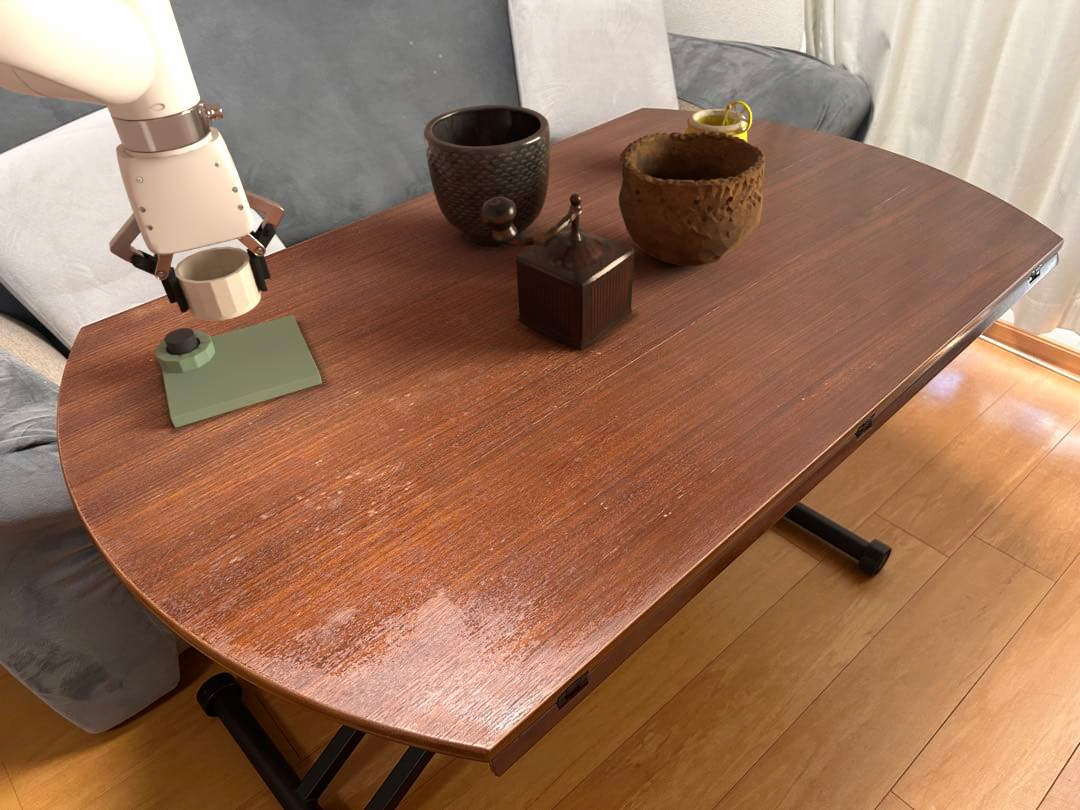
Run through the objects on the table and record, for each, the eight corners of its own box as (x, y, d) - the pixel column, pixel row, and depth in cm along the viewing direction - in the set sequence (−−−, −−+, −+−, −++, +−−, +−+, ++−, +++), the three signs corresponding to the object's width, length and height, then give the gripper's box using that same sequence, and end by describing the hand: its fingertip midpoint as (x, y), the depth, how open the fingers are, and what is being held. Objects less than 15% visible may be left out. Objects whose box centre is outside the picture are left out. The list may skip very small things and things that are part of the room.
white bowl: (194, 328, 76) (178, 290, 73) (185, 295, 81) (170, 257, 78) (267, 309, 78) (255, 270, 75) (254, 277, 83) (242, 240, 80)
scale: (174, 428, 81) (164, 407, 79) (161, 360, 91) (152, 339, 89) (322, 383, 86) (316, 362, 84) (295, 323, 96) (289, 303, 94)
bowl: (588, 254, 107) (589, 150, 97) (680, 214, 116) (689, 115, 106) (686, 308, 95) (698, 196, 86) (780, 259, 104) (801, 153, 95)
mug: (673, 154, 133) (679, 84, 126) (735, 151, 134) (744, 80, 126) (689, 184, 124) (696, 110, 116) (755, 180, 124) (767, 106, 116)
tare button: (171, 359, 86) (165, 346, 85) (168, 344, 89) (163, 332, 87) (200, 351, 87) (195, 338, 86) (196, 337, 90) (191, 324, 88)
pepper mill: (565, 286, 101) (563, 153, 89) (633, 314, 95) (641, 176, 83) (484, 339, 92) (470, 200, 80) (554, 373, 86) (550, 229, 74)
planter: (531, 267, 105) (526, 154, 94) (418, 252, 109) (401, 143, 99) (565, 213, 117) (564, 108, 107) (463, 202, 122) (452, 100, 111)
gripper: (254, 97, 73) (298, 259, 85) (56, 132, 68) (132, 301, 79) (269, 121, 68) (314, 290, 79) (56, 161, 62) (137, 337, 74)
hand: (223, 294), depth 79 cm, fingers closed on white bowl, 7 cm apart
